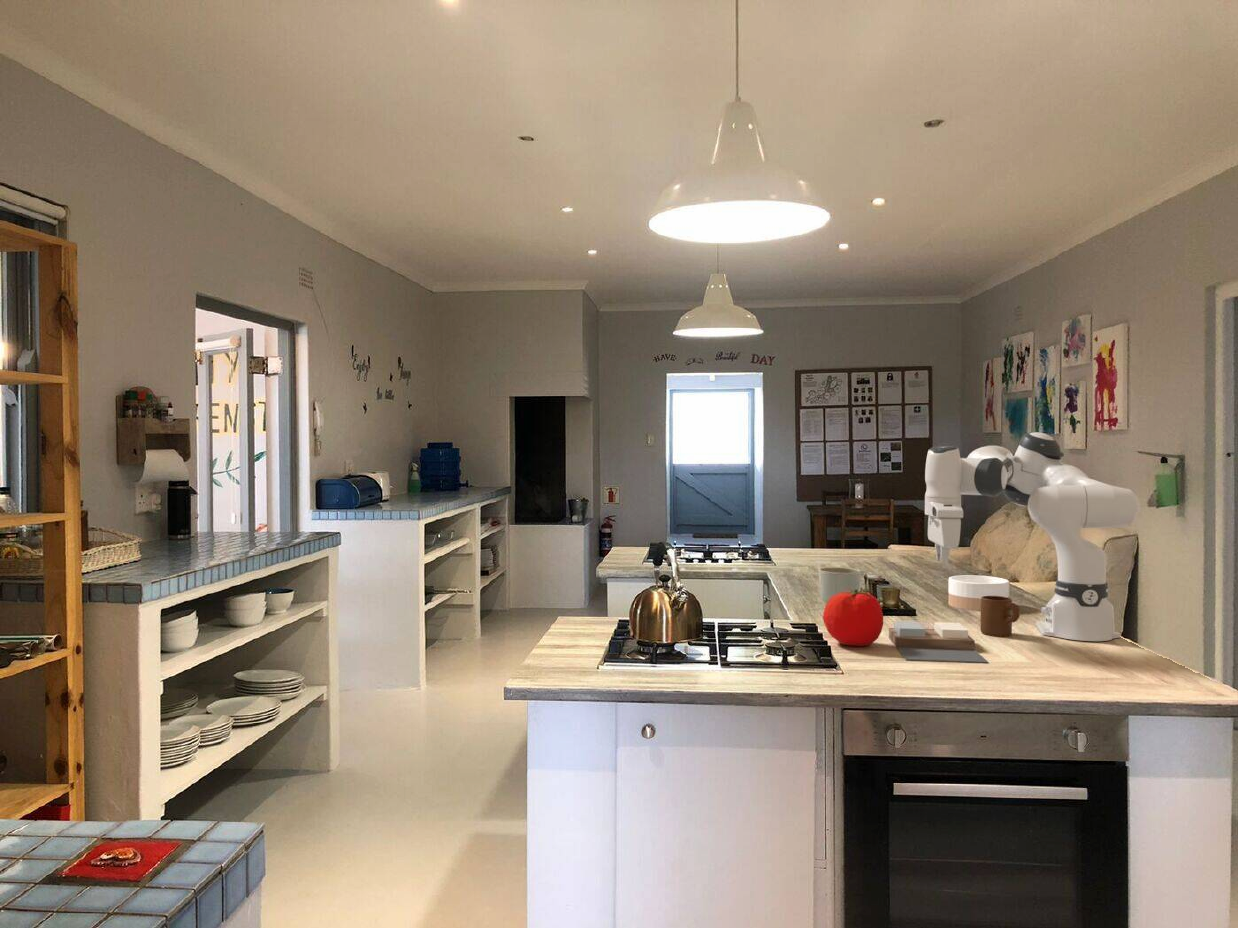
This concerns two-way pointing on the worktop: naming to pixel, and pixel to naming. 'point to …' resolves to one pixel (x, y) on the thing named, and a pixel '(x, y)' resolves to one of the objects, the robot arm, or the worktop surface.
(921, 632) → the light gray block
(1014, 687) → the worktop surface
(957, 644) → the brown wooden flat board
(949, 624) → the ivory block
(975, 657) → the mat
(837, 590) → the planter
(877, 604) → the tomato
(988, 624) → the mug
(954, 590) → the bowl
